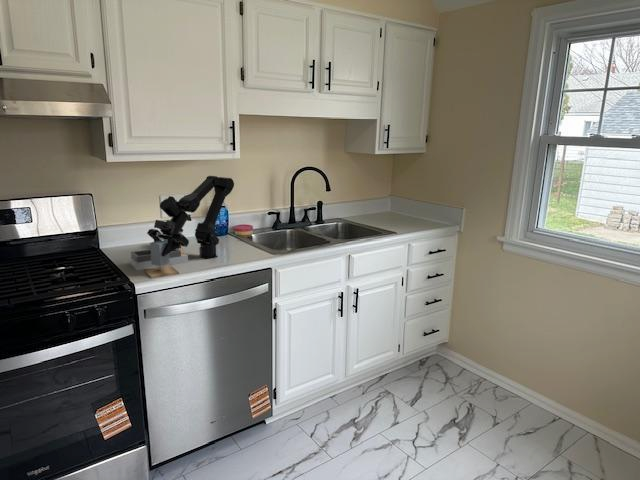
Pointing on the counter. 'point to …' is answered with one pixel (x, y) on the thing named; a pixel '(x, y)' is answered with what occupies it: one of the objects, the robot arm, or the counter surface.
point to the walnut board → (160, 271)
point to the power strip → (144, 258)
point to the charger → (159, 253)
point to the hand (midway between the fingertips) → (157, 255)
